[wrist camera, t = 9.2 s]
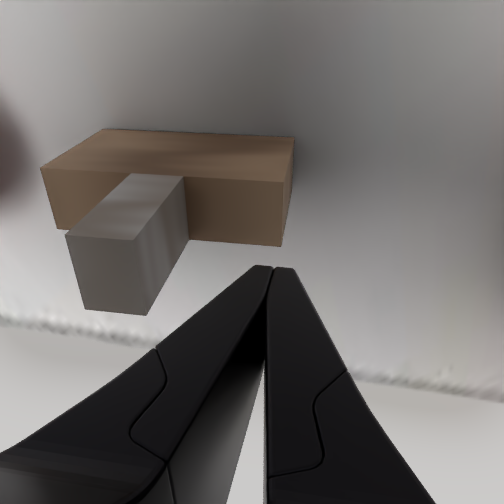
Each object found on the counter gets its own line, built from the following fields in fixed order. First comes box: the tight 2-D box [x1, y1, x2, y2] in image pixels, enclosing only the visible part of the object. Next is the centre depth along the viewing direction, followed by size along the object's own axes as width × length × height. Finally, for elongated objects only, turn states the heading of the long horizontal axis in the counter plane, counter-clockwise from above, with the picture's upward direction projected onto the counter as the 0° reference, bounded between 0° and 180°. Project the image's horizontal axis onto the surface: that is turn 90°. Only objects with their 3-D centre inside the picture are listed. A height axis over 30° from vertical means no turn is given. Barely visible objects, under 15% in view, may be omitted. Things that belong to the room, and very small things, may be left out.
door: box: [40, 129, 294, 316], centre depth 12 cm, size 7×2×8 cm, turn 90°
